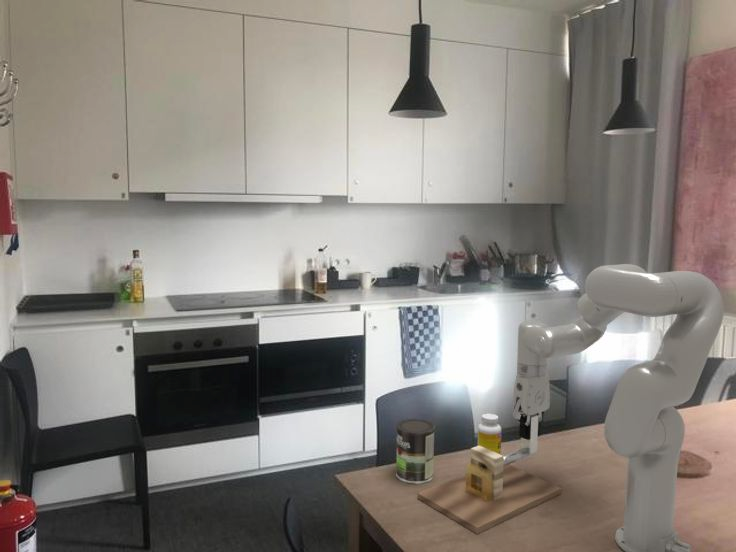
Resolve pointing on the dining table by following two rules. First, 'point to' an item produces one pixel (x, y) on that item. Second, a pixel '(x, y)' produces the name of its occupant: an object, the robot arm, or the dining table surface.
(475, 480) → the frame
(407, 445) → the coffee can
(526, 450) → the crank handle
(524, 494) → the bearing stand
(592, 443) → the dining table surface
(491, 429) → the supplement bottle
